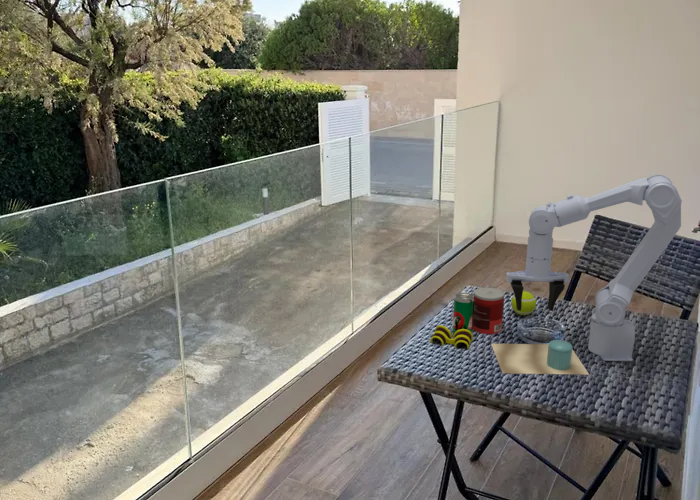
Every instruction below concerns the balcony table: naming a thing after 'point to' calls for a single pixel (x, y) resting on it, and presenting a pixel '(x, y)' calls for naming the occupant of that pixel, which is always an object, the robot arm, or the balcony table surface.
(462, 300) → the soda can
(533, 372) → the birch board
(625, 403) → the balcony table surface
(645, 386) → the balcony table surface
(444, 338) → the opera glasses
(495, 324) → the canned food
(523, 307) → the tennis ball
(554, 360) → the teal cap
